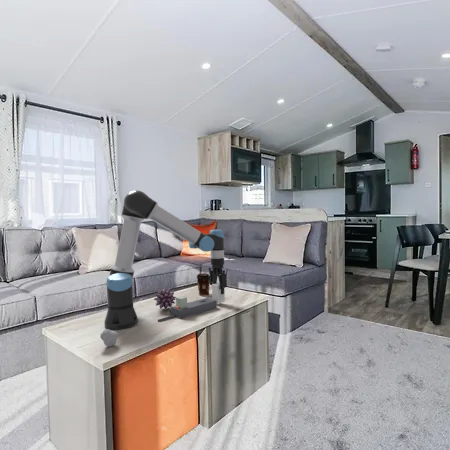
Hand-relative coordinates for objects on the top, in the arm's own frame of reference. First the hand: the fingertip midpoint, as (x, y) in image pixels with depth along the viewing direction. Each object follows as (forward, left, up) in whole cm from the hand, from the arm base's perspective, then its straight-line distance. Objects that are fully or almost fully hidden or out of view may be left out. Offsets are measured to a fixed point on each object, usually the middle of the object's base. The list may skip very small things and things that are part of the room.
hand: (218, 298), depth 189 cm
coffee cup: (+7, +22, -3) cm, 23 cm away
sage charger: (-25, 0, +1) cm, 25 cm away
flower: (-26, +14, -3) cm, 30 cm away
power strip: (-22, 0, -3) cm, 22 cm away
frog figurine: (-68, -11, -3) cm, 69 cm away
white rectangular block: (0, 0, -3) cm, 3 cm away
